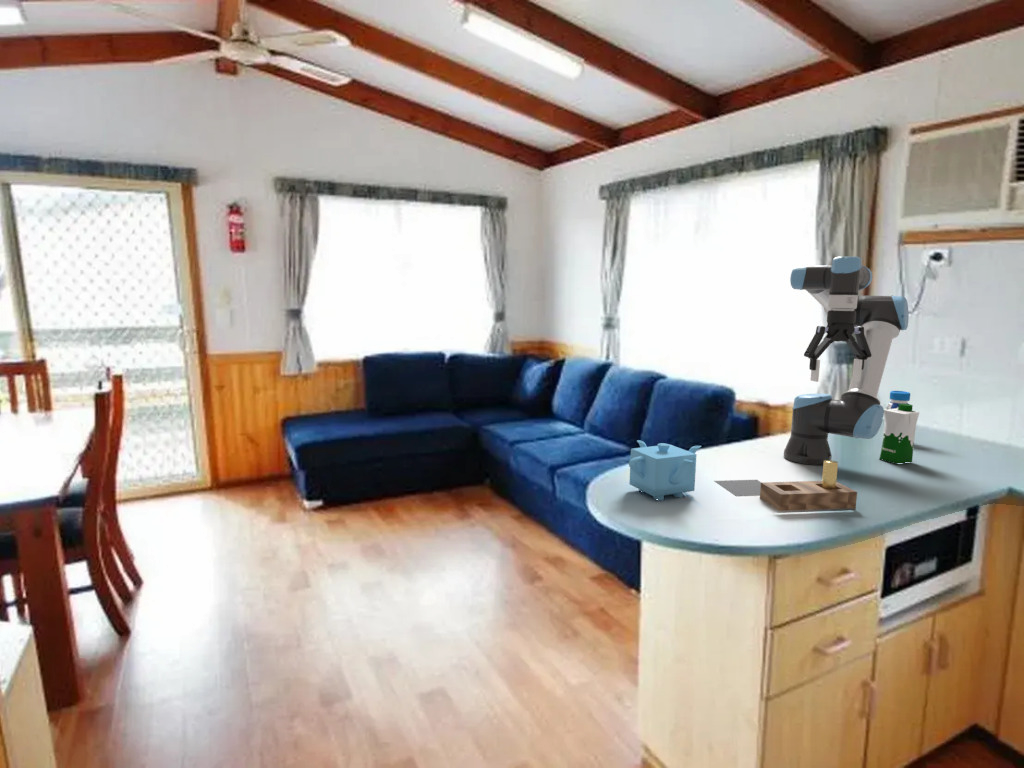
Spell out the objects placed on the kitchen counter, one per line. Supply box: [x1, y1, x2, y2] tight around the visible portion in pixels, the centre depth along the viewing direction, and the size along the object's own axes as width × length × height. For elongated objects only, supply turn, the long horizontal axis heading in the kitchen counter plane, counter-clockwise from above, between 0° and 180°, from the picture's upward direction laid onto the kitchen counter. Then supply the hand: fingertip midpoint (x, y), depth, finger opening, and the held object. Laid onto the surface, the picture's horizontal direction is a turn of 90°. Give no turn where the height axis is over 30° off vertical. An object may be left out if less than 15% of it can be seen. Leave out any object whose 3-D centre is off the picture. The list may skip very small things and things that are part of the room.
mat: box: [714, 479, 763, 497], centre depth 180 cm, size 14×14×1 cm
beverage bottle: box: [885, 390, 911, 410], centre depth 239 cm, size 8×8×20 cm
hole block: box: [759, 480, 858, 512], centre depth 167 cm, size 22×10×5 cm, turn 97°
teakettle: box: [628, 439, 702, 501], centre depth 174 cm, size 19×19×15 cm
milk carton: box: [879, 403, 920, 464], centre depth 210 cm, size 9×9×20 cm
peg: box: [821, 459, 839, 490], centre depth 167 cm, size 4×4×12 cm
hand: (835, 381), depth 183 cm, fingers open, 13 cm apart
